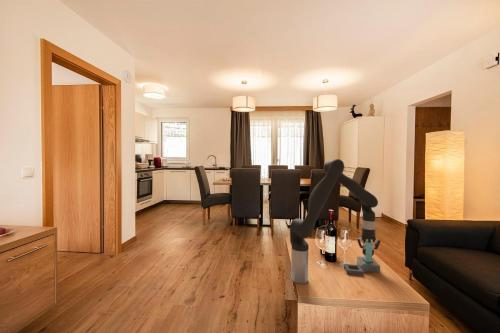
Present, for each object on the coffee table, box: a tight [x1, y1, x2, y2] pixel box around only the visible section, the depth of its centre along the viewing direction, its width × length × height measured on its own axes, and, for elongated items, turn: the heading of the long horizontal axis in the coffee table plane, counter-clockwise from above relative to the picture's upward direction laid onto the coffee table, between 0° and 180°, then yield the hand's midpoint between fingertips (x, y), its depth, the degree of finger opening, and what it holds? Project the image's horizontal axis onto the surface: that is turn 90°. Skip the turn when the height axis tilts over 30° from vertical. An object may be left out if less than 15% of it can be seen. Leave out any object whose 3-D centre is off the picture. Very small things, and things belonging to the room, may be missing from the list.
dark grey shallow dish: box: [343, 263, 365, 277], centre depth 144 cm, size 9×9×2 cm
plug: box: [363, 242, 373, 262], centre depth 149 cm, size 4×4×12 cm
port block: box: [356, 256, 381, 274], centre depth 149 cm, size 12×10×5 cm
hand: (368, 255), depth 149 cm, fingers closed on plug, 3 cm apart
